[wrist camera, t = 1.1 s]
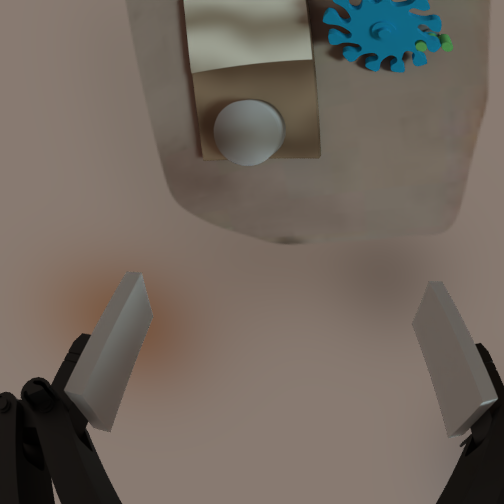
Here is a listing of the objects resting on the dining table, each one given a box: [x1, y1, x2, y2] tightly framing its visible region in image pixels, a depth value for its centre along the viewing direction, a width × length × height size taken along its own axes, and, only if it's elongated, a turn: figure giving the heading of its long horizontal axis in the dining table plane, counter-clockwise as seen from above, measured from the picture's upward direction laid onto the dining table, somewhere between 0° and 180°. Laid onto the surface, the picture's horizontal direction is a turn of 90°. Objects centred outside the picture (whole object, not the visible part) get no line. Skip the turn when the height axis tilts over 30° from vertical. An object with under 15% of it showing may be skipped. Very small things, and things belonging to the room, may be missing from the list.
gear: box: [323, 0, 453, 72], centre depth 20 cm, size 11×6×10 cm
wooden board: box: [184, 0, 321, 166], centre depth 26 cm, size 20×12×4 cm, turn 6°
